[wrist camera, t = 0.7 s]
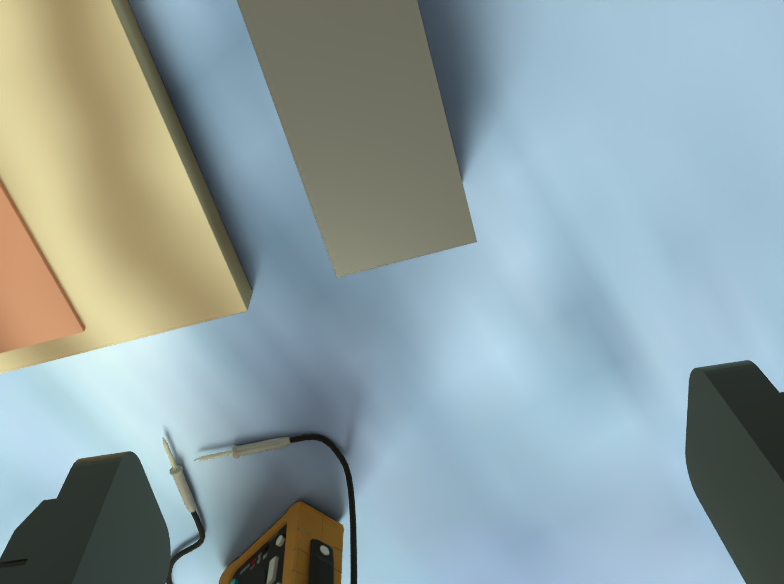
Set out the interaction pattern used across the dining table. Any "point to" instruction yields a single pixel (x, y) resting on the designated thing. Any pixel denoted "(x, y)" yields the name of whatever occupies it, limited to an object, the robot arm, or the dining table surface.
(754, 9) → the dining table surface
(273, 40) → the block
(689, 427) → the robot arm
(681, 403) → the dining table surface
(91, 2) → the board
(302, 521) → the multimeter
